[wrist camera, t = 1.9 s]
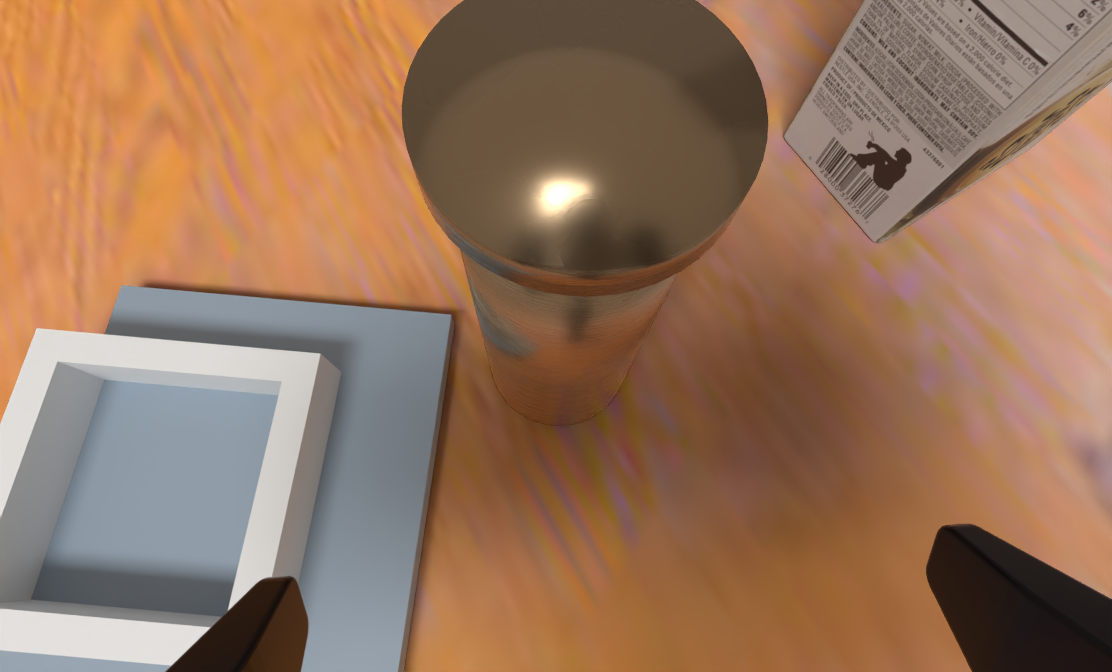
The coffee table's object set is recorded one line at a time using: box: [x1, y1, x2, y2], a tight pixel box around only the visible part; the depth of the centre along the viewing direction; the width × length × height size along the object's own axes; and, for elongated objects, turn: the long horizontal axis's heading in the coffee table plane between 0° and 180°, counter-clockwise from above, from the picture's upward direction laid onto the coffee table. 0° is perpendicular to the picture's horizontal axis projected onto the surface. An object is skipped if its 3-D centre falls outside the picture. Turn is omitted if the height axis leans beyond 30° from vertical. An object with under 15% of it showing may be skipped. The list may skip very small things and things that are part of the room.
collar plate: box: [0, 285, 455, 672], centre depth 19 cm, size 16×12×3 cm
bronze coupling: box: [402, 0, 768, 426], centre depth 16 cm, size 6×6×14 cm
